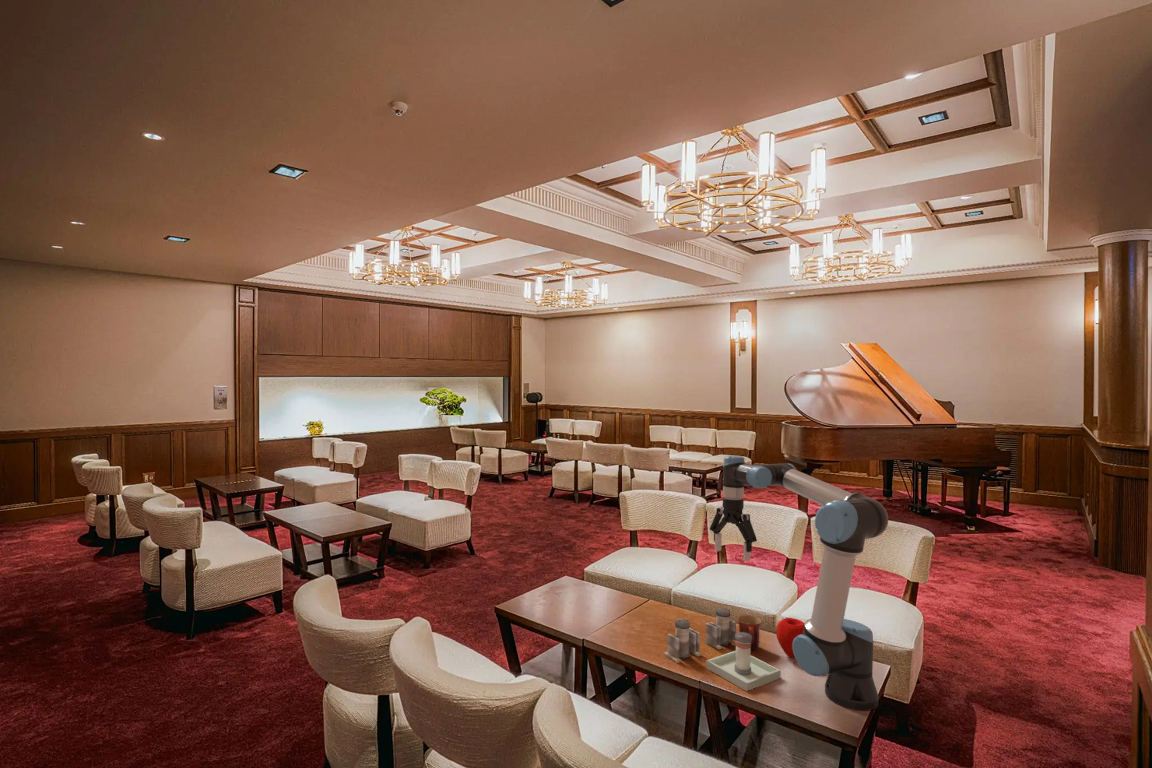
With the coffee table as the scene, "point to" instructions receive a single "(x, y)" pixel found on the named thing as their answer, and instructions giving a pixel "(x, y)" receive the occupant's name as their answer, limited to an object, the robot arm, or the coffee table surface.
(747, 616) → the mug
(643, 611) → the coffee table surface
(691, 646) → the clip rack
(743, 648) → the cylinder
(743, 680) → the tray
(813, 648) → the robot arm
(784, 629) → the apple
